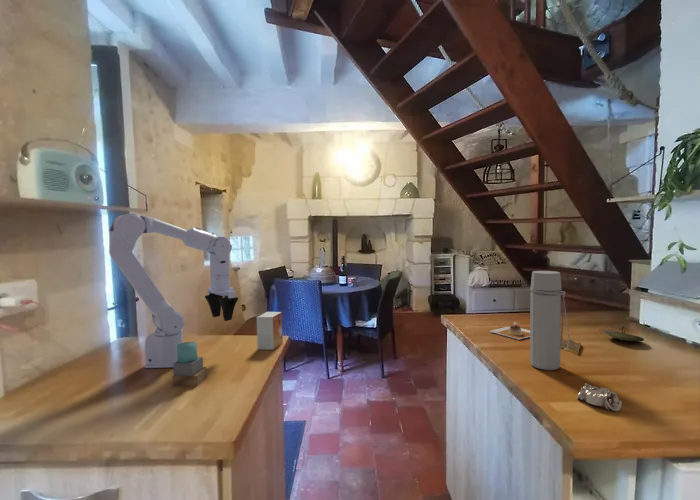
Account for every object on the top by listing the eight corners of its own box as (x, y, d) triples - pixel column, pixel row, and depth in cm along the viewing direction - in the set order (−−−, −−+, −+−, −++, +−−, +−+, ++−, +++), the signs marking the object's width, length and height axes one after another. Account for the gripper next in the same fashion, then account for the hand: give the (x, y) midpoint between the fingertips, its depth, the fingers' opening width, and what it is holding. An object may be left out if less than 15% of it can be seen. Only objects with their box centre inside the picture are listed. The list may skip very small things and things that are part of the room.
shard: (578, 356, 109) (578, 350, 109) (548, 352, 113) (548, 346, 113) (581, 346, 117) (581, 341, 117) (553, 342, 122) (553, 337, 122)
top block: (173, 375, 94) (173, 363, 94) (184, 368, 99) (184, 356, 99) (193, 375, 94) (192, 363, 93) (203, 368, 98) (202, 356, 98)
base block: (173, 388, 94) (172, 376, 93) (183, 378, 100) (183, 367, 99) (198, 387, 94) (197, 375, 93) (206, 378, 100) (206, 366, 99)
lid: (598, 341, 121) (598, 325, 121) (609, 335, 127) (609, 320, 127) (638, 349, 113) (638, 332, 112) (648, 342, 119) (648, 326, 119)
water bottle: (531, 370, 98) (531, 273, 97) (528, 360, 106) (528, 270, 104) (571, 374, 95) (572, 274, 94) (566, 363, 102) (566, 270, 101)
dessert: (519, 342, 123) (519, 327, 123) (489, 334, 134) (489, 320, 133) (542, 336, 129) (542, 322, 129) (511, 328, 140) (511, 315, 140)
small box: (273, 350, 120) (272, 317, 119) (257, 349, 121) (255, 316, 120) (283, 342, 127) (282, 311, 127) (267, 342, 128) (266, 311, 128)
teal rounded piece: (174, 363, 94) (173, 347, 94) (182, 357, 98) (181, 342, 98) (192, 363, 94) (191, 347, 94) (200, 356, 98) (199, 341, 98)
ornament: (628, 407, 78) (629, 389, 78) (613, 416, 74) (613, 398, 74) (587, 393, 85) (587, 377, 85) (570, 401, 81) (571, 384, 81)
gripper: (243, 275, 116) (245, 319, 117) (221, 272, 126) (223, 312, 127) (222, 277, 111) (224, 323, 112) (200, 274, 122) (202, 316, 122)
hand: (222, 318), depth 119 cm, fingers open, 7 cm apart
